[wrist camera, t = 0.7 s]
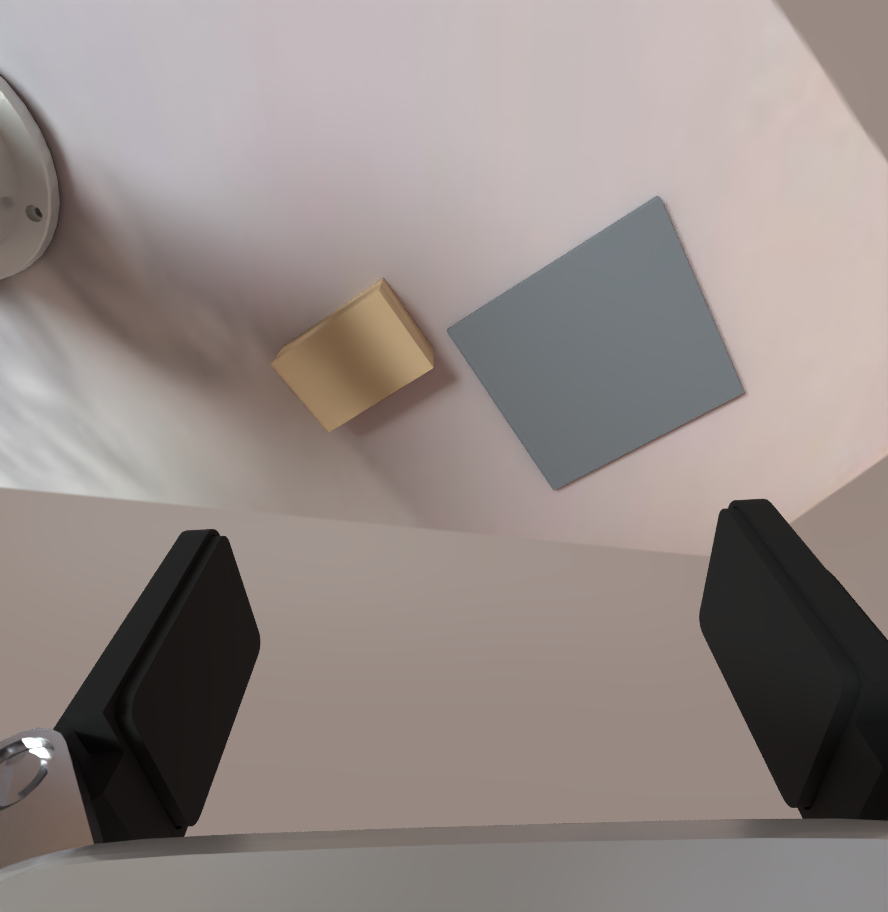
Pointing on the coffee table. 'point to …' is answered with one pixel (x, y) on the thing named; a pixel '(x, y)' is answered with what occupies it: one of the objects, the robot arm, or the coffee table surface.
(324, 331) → the light brown rectangular block
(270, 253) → the coffee table surface
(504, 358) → the mat
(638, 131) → the coffee table surface
